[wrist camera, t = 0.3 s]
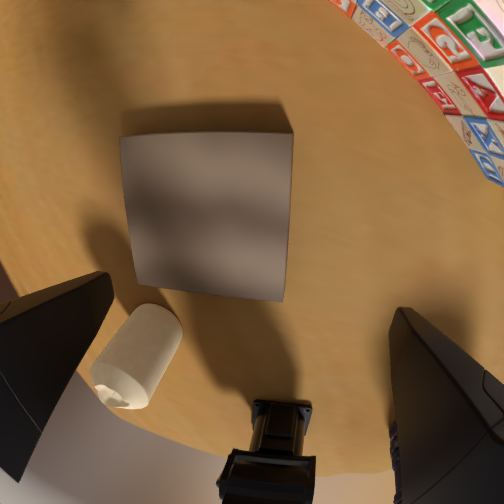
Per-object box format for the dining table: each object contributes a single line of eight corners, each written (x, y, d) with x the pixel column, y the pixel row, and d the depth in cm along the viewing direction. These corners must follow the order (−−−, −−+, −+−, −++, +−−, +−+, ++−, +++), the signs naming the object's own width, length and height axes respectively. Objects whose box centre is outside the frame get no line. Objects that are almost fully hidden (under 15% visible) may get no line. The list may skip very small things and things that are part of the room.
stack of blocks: (528, 133, 15) (638, 172, 4) (486, 180, 18) (592, 249, 7) (335, -73, 12) (342, -175, 1) (279, -32, 14) (245, -138, 3)
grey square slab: (284, 288, 25) (282, 302, 23) (148, 272, 27) (137, 284, 25) (293, 132, 20) (292, 134, 18) (133, 134, 21) (119, 137, 20)
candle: (162, 352, 31) (121, 424, 22) (124, 316, 30) (72, 384, 21) (194, 333, 29) (154, 415, 20) (153, 292, 28) (97, 367, 19)
